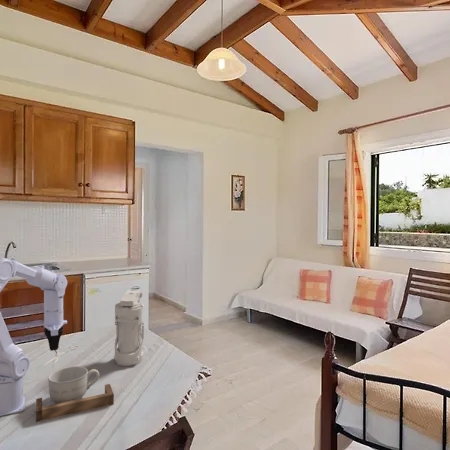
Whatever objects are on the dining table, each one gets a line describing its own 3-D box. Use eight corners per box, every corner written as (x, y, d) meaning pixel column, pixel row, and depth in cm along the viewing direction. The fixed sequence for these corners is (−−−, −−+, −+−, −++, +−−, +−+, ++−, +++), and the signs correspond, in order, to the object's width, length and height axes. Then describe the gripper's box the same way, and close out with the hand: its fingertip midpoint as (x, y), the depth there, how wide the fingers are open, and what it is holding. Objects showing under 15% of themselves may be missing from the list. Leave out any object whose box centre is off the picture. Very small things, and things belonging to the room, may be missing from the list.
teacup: (44, 411, 99) (44, 384, 98) (52, 391, 109) (52, 366, 109) (97, 405, 103) (97, 378, 102) (100, 386, 113) (100, 362, 113)
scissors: (81, 344, 145) (62, 366, 125) (81, 346, 145) (62, 368, 125) (54, 344, 145) (31, 366, 125) (54, 346, 145) (31, 368, 125)
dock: (36, 422, 94) (35, 411, 94) (36, 409, 100) (36, 398, 100) (113, 404, 103) (113, 394, 103) (109, 393, 109) (109, 383, 109)
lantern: (139, 366, 127) (140, 298, 126) (110, 366, 127) (111, 297, 126) (147, 351, 140) (148, 289, 139) (121, 351, 140) (121, 288, 139)
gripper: (68, 314, 112) (68, 356, 113) (65, 302, 125) (65, 340, 126) (43, 317, 109) (43, 360, 110) (43, 304, 122) (43, 343, 123)
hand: (53, 349), depth 118 cm, fingers closed
